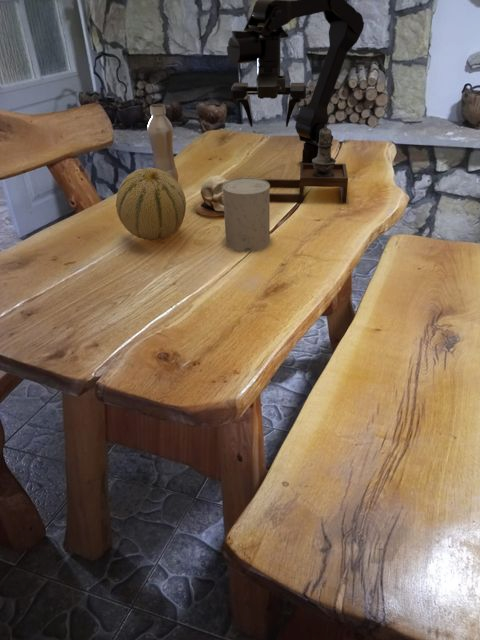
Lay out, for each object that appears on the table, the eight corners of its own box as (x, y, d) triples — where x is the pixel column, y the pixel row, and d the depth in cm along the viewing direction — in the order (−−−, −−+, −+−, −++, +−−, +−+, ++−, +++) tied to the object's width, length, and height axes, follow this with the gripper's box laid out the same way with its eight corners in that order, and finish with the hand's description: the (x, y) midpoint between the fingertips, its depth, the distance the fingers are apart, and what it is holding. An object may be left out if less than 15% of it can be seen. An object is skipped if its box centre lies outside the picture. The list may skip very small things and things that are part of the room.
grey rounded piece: (309, 171, 138) (311, 121, 131) (332, 170, 139) (335, 120, 132) (313, 179, 134) (315, 128, 127) (337, 178, 134) (340, 127, 127)
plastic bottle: (181, 182, 148) (173, 102, 136) (175, 191, 142) (167, 109, 130) (158, 181, 148) (148, 102, 136) (151, 190, 143) (140, 108, 131)
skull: (258, 204, 131) (235, 179, 123) (233, 239, 132) (208, 217, 124) (229, 189, 139) (204, 164, 131) (205, 222, 139) (179, 200, 131)
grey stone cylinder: (254, 255, 112) (253, 197, 105) (216, 245, 116) (212, 188, 109) (278, 238, 118) (278, 182, 111) (241, 229, 123) (239, 174, 115)
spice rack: (343, 187, 143) (345, 163, 140) (346, 203, 134) (348, 178, 131) (256, 186, 145) (255, 162, 141) (252, 201, 136) (252, 177, 132)
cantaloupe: (149, 218, 128) (140, 153, 119) (202, 230, 122) (196, 162, 113) (106, 243, 117) (93, 173, 109) (162, 257, 112) (152, 185, 103)
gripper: (227, 65, 128) (230, 134, 138) (307, 65, 127) (304, 135, 136) (232, 57, 137) (234, 123, 147) (307, 57, 136) (304, 123, 145)
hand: (269, 126), depth 143 cm, fingers open, 9 cm apart
